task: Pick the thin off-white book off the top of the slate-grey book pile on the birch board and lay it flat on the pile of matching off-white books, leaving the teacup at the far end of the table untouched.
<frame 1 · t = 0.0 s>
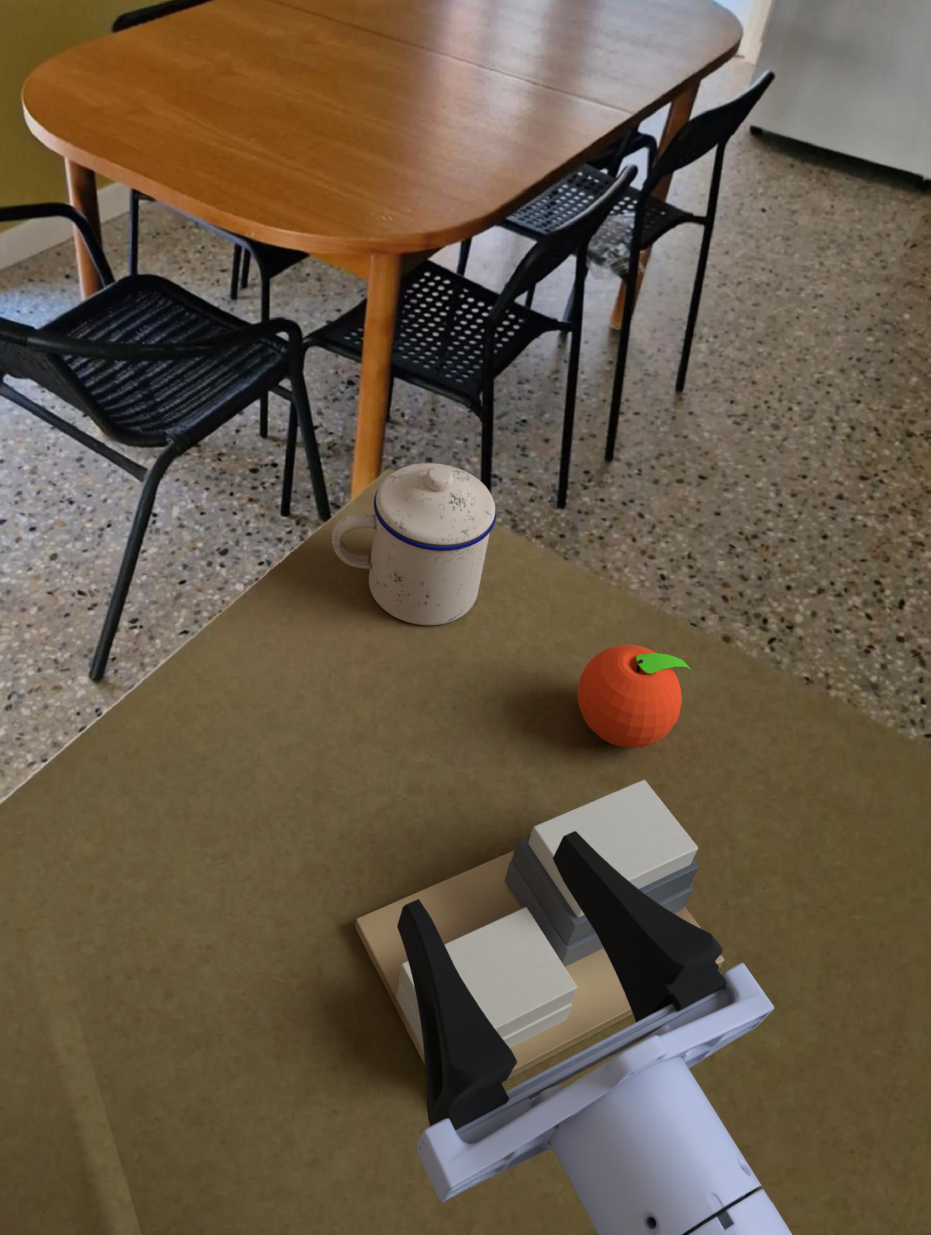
hand: (488, 877, 46), 20 cm above the counter, tool horizontal, fingers open, 7 cm apart
teacup with lid: (404, 588, 88), on the counter
white book: (609, 854, 64), point 5 cm above the counter, touching grey books
clementine: (624, 727, 78), on the counter
white books: (480, 1008, 61), resting on shelf board
grey books: (593, 894, 67), resting on shelf board
shelf board: (536, 947, 65), on the counter
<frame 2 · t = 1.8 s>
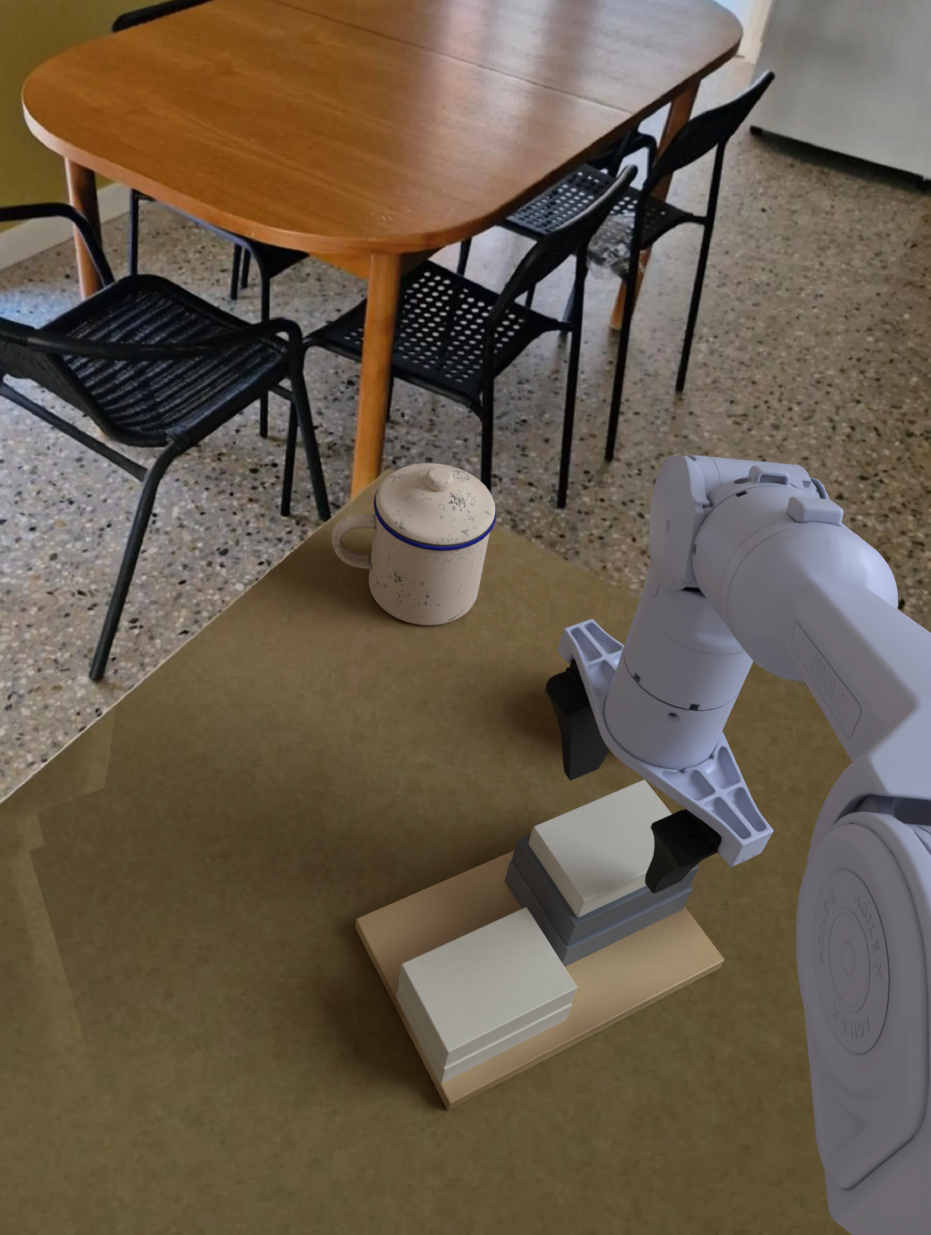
hand: (620, 823, 62), 8 cm above the counter, tool pointing down, fingers open, 7 cm apart
nothing on the counter moved.
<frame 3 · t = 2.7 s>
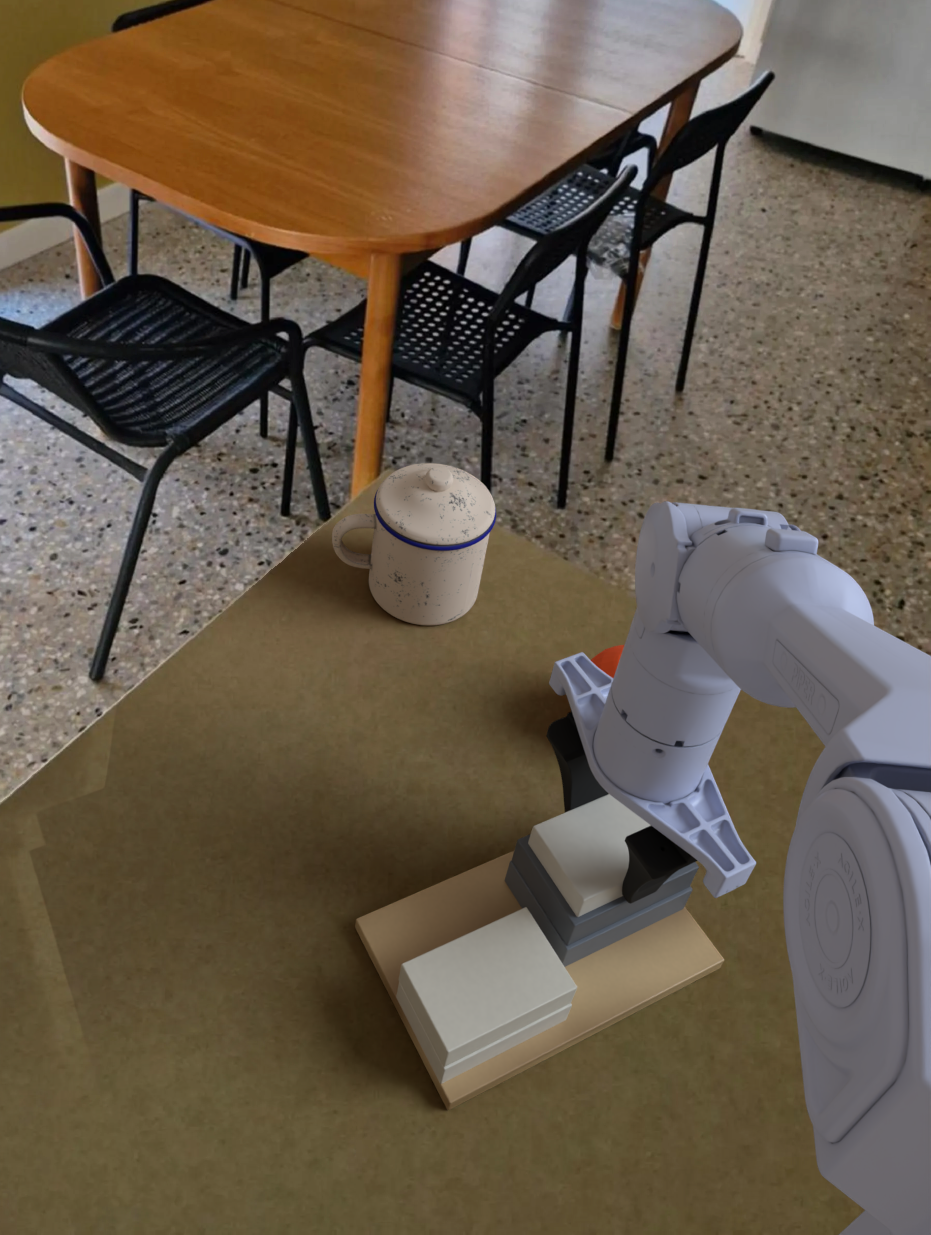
hand: (610, 851, 64), 6 cm above the counter, tool pointing down, fingers closed on white book, 5 cm apart
white book: (608, 853, 64), point 5 cm above the counter, touching grey books, gripper
everything else where it was.
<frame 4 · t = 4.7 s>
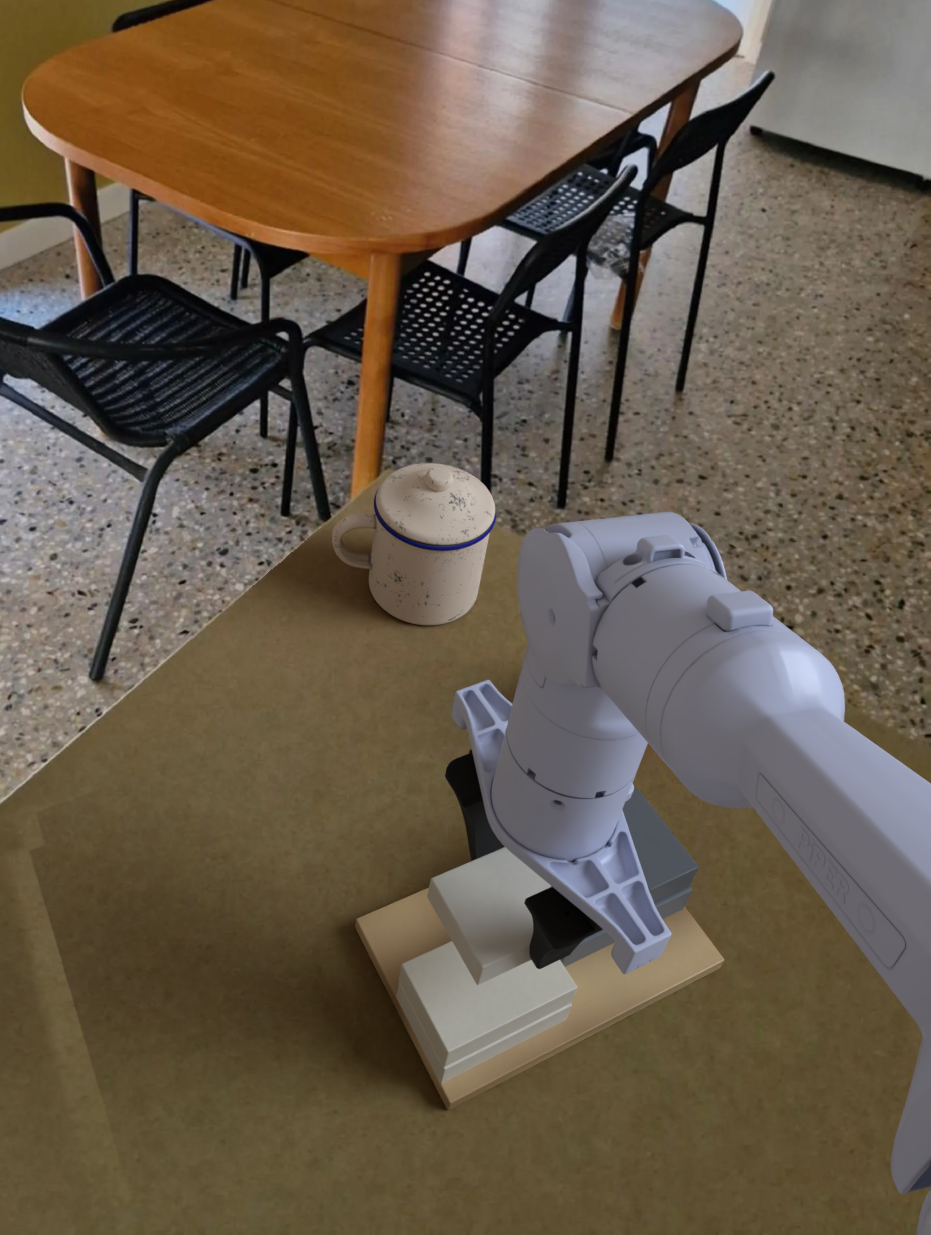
hand: (520, 906, 56), 10 cm above the counter, tool pointing down, fingers closed on white book, 5 cm apart
white book: (518, 909, 56), point 10 cm above the counter, touching gripper
everything else where it was.
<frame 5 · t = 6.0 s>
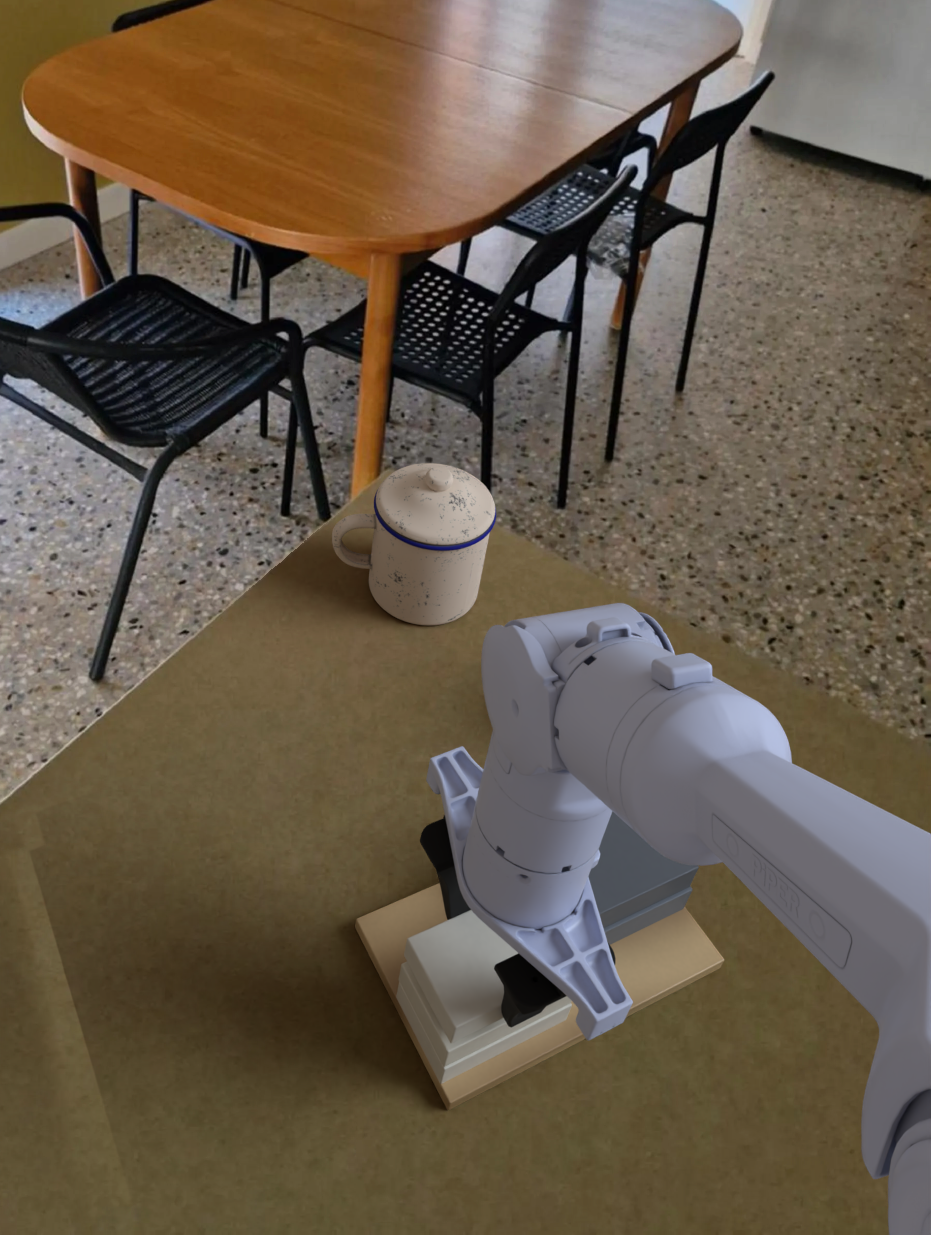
hand: (493, 965, 58), 6 cm above the counter, tool pointing down, fingers closed on white book, 5 cm apart
white book: (492, 967, 58), point 6 cm above the counter, touching gripper
everything else where it was.
when the fingers open (5 cm above the counter, at t = 6.8 s): white book stays where it is, resting on white books.
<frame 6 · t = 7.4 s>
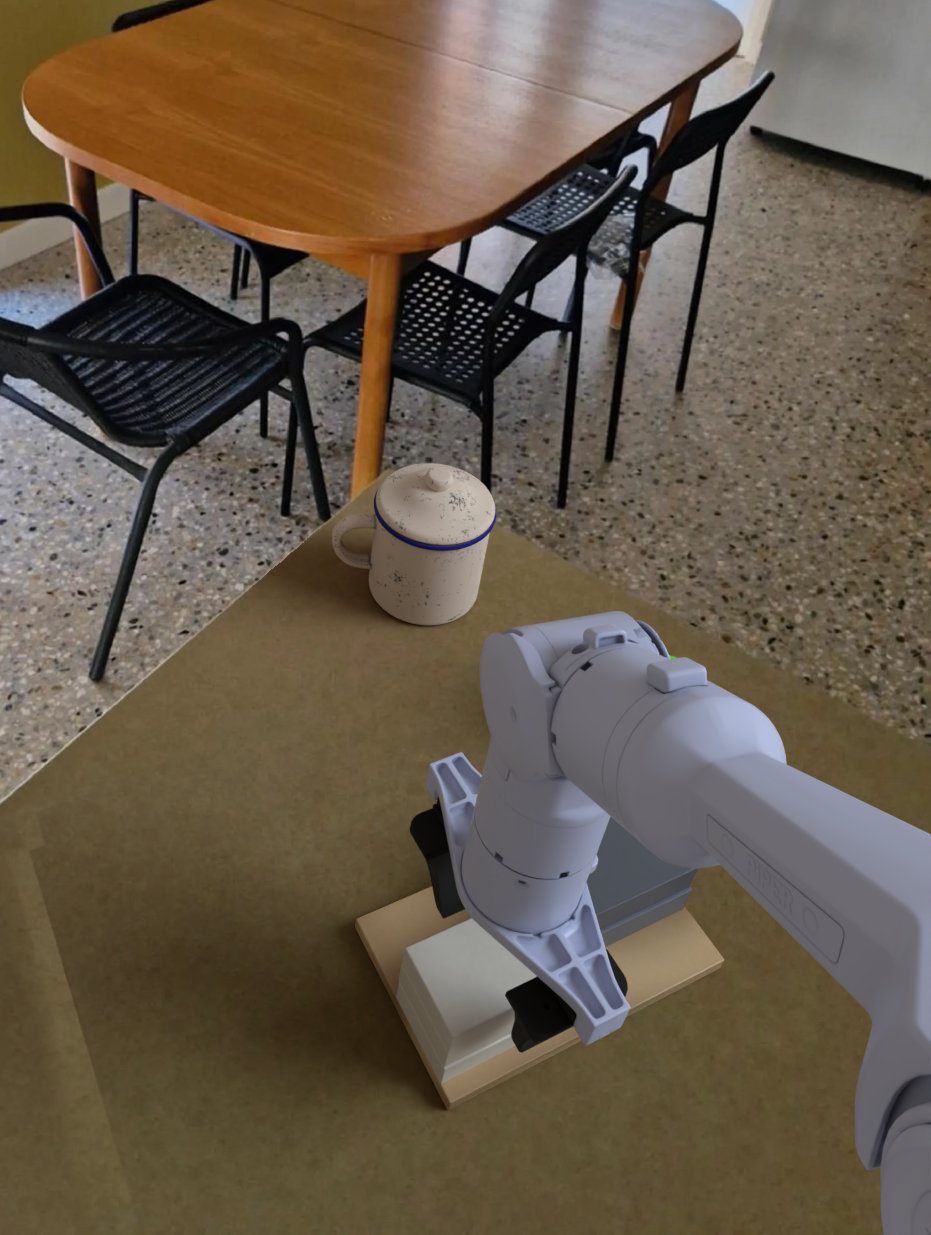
hand: (492, 969, 58), 5 cm above the counter, tool pointing down, fingers open, 7 cm apart
white book: (489, 976, 59), point 5 cm above the counter, touching white books
everything else where it was.
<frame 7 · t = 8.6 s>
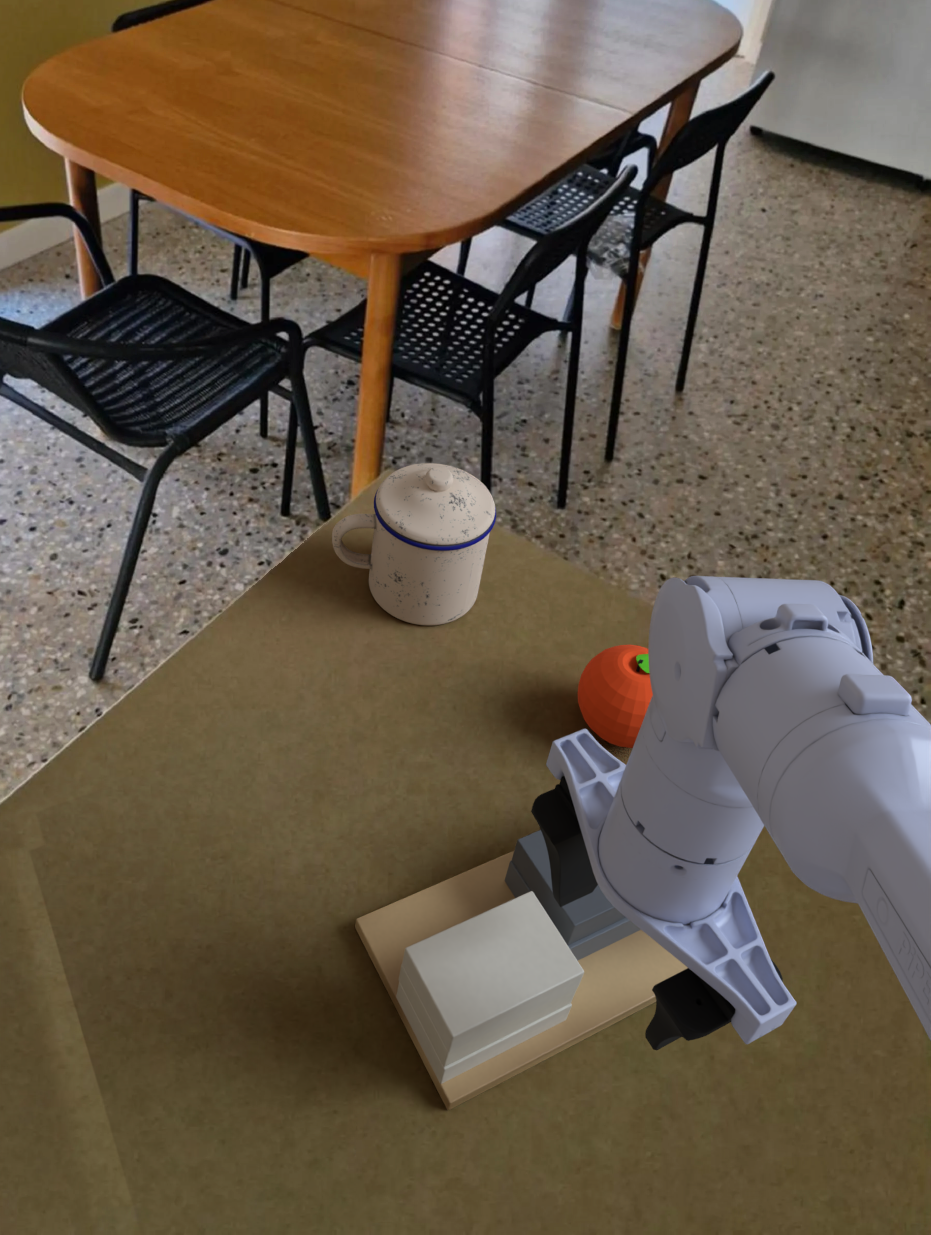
hand: (617, 961, 55), 10 cm above the counter, tool pointing down, fingers open, 7 cm apart
nothing on the counter moved.
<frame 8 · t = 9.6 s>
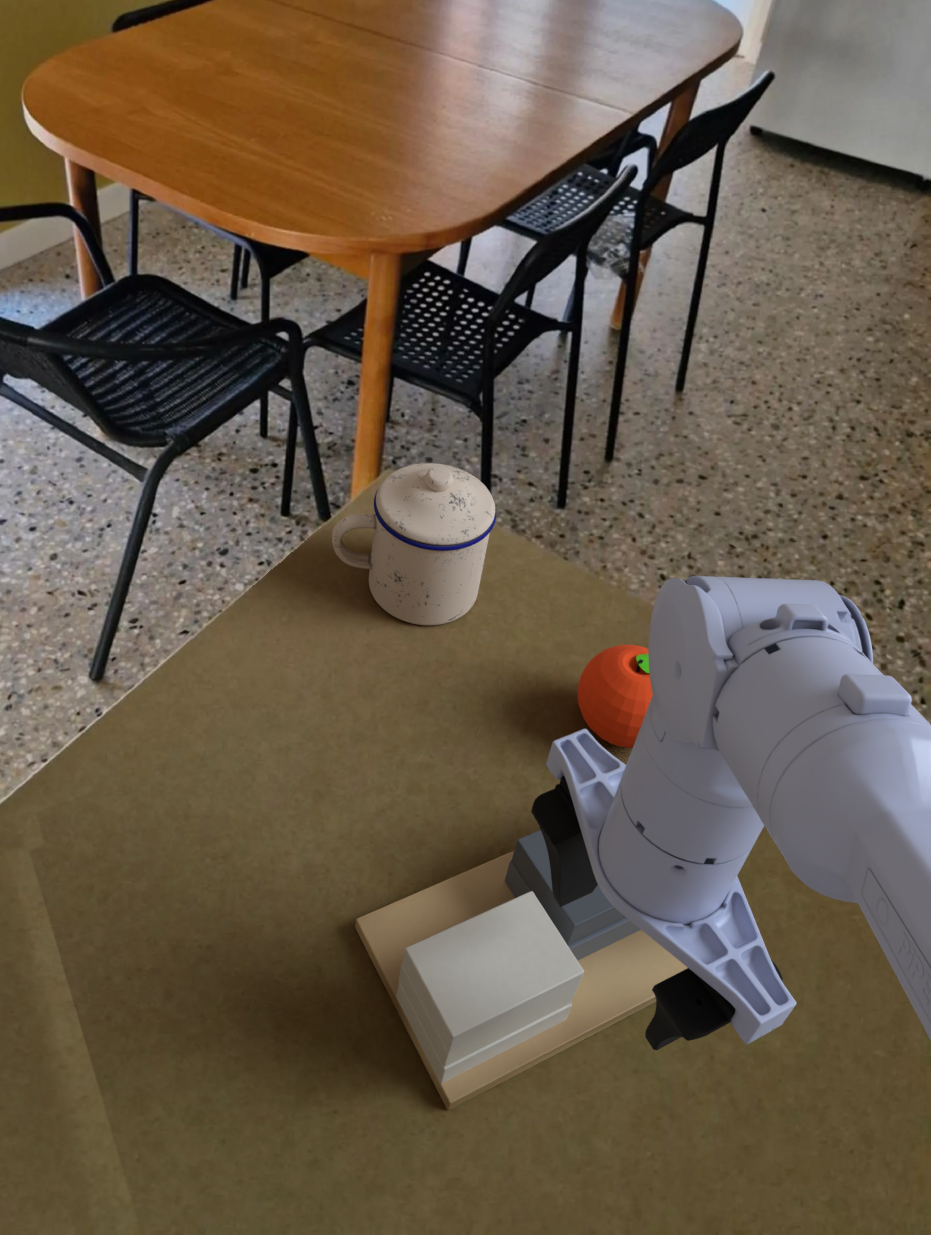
hand: (617, 961, 55), 10 cm above the counter, tool pointing down, fingers open, 7 cm apart
nothing on the counter moved.
at the end: white book 0.1 cm off-centre on the white books, point 3.6 cm above the white books's base; white book tilted 0°; teacup with lid moved 0.2 cm from its start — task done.
